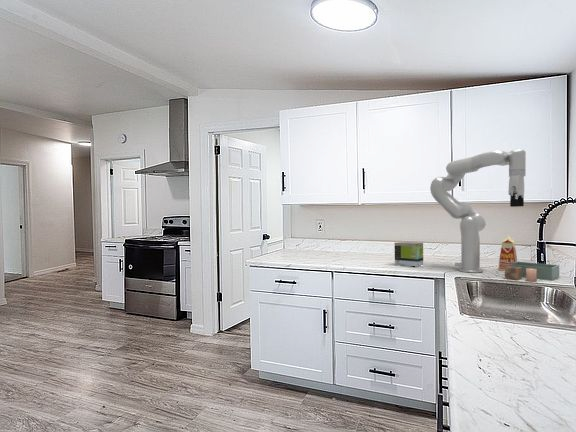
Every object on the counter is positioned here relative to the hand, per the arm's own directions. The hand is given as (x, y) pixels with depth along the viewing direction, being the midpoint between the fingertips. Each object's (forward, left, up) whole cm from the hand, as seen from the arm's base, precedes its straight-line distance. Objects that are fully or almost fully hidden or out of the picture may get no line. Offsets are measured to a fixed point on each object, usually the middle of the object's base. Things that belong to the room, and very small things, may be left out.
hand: (517, 206), depth 203 cm
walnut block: (+1, -9, -37) cm, 38 cm away
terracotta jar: (+9, -9, -37) cm, 39 cm away
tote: (+6, +6, -37) cm, 38 cm away
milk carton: (-10, +18, -37) cm, 42 cm away
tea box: (-60, -5, -37) cm, 71 cm away
